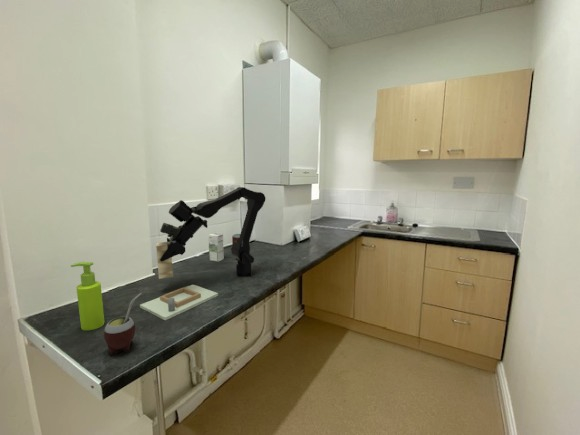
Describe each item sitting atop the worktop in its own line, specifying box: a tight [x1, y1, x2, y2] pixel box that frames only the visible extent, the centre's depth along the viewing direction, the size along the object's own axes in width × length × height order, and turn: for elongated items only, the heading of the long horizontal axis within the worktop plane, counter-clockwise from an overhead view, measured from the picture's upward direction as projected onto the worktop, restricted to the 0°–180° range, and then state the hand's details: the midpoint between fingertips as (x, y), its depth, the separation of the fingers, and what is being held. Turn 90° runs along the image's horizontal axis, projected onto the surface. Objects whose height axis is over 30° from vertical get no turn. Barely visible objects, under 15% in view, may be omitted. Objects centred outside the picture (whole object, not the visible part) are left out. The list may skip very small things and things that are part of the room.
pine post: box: [155, 241, 174, 280], centre depth 108 cm, size 5×5×13 cm
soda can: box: [231, 233, 241, 247], centre depth 157 cm, size 7×7×12 cm
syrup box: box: [207, 232, 225, 263], centre depth 148 cm, size 6×6×14 cm
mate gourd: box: [103, 292, 142, 357], centre depth 73 cm, size 8×8×15 cm
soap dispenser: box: [70, 261, 105, 332], centre depth 83 cm, size 6×7×20 cm
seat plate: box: [139, 284, 219, 321], centre depth 101 cm, size 22×15×5 cm
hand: (160, 258), depth 108 cm, fingers closed on pine post, 5 cm apart
